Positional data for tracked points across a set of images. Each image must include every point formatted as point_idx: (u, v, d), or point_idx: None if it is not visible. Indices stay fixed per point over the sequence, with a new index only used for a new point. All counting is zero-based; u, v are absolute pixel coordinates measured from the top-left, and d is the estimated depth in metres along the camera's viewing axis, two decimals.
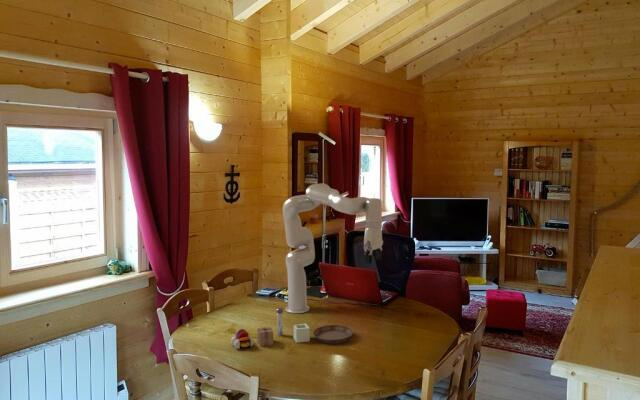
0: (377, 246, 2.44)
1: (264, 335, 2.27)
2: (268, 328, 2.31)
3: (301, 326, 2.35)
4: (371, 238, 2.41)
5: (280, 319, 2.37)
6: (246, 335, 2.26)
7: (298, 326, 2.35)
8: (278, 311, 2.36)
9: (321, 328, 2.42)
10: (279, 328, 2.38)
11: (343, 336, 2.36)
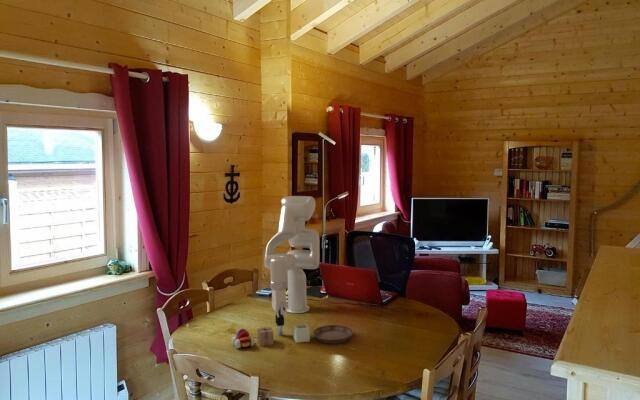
0: None
1: (264, 335, 2.27)
2: (268, 328, 2.31)
3: (301, 326, 2.35)
4: (284, 298, 2.33)
5: None
6: (247, 335, 2.26)
7: (298, 326, 2.35)
8: None
9: (321, 328, 2.42)
10: (279, 328, 2.38)
11: (343, 336, 2.36)
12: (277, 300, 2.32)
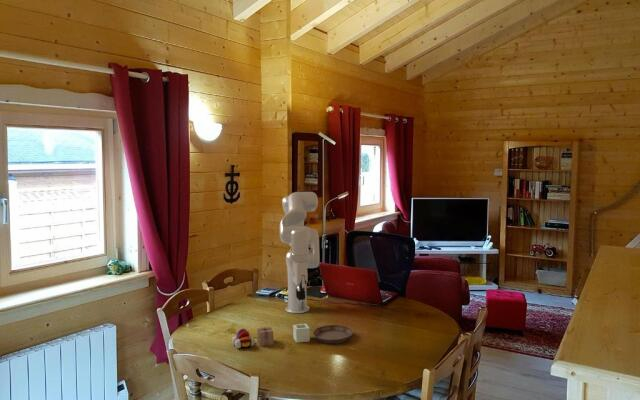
0: None
1: (264, 335, 2.27)
2: (268, 328, 2.31)
3: (301, 326, 2.35)
4: (306, 271, 2.26)
5: None
6: (247, 335, 2.26)
7: (298, 326, 2.35)
8: None
9: (321, 328, 2.42)
10: (300, 302, 2.31)
11: (343, 336, 2.36)
12: (298, 273, 2.25)
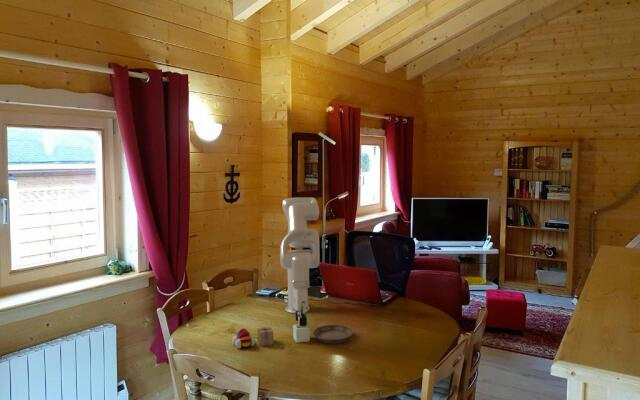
0: None
1: (264, 335, 2.27)
2: (268, 328, 2.31)
3: None
4: (306, 297, 2.27)
5: None
6: (247, 335, 2.27)
7: None
8: (299, 315, 2.31)
9: (321, 328, 2.42)
10: None
11: (343, 336, 2.36)
12: (299, 299, 2.26)
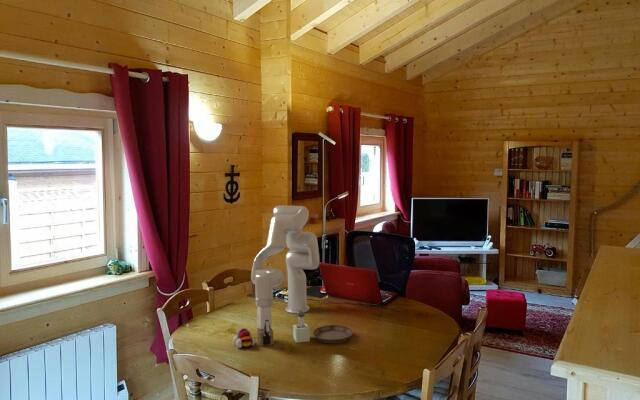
0: None
1: None
2: None
3: None
4: (269, 316, 2.25)
5: (301, 323, 2.32)
6: (248, 334, 2.27)
7: None
8: (299, 315, 2.31)
9: (321, 328, 2.42)
10: None
11: (343, 336, 2.36)
12: (262, 318, 2.24)
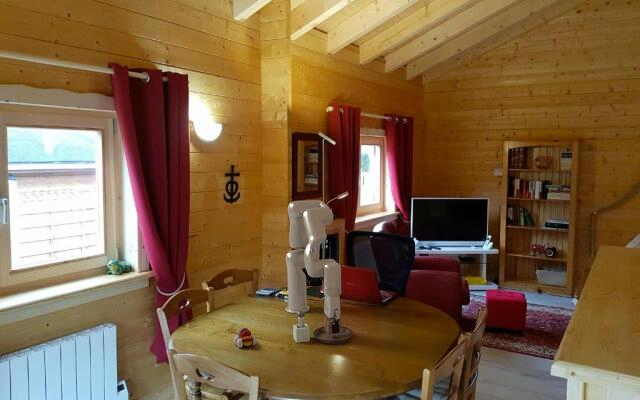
0: None
1: None
2: None
3: None
4: (338, 305, 2.30)
5: (301, 323, 2.32)
6: (249, 334, 2.27)
7: None
8: (299, 315, 2.31)
9: (321, 328, 2.42)
10: None
11: (343, 336, 2.36)
12: (331, 306, 2.29)
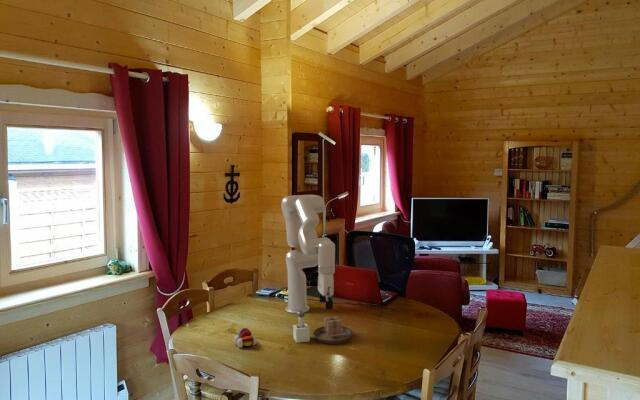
0: None
1: (332, 324, 2.31)
2: (335, 318, 2.36)
3: None
4: (332, 283, 2.33)
5: (301, 323, 2.32)
6: (249, 334, 2.27)
7: None
8: (299, 315, 2.31)
9: (321, 328, 2.42)
10: None
11: (343, 336, 2.36)
12: (325, 284, 2.32)
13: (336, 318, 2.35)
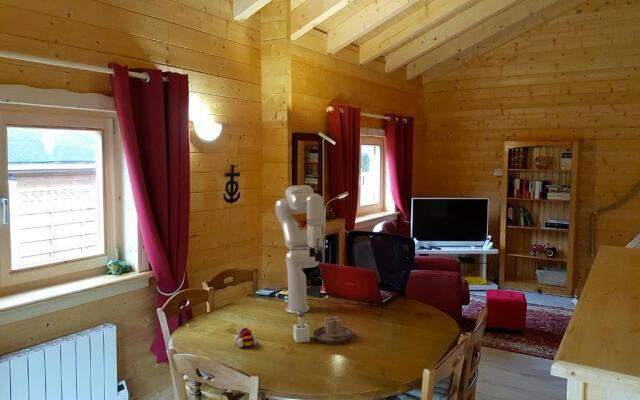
0: None
1: (332, 324, 2.32)
2: (335, 318, 2.36)
3: None
4: (321, 235, 2.38)
5: (301, 323, 2.32)
6: (249, 334, 2.27)
7: None
8: (299, 315, 2.31)
9: (321, 329, 2.42)
10: None
11: (343, 337, 2.36)
12: (314, 236, 2.37)
13: (336, 318, 2.35)
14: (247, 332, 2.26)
